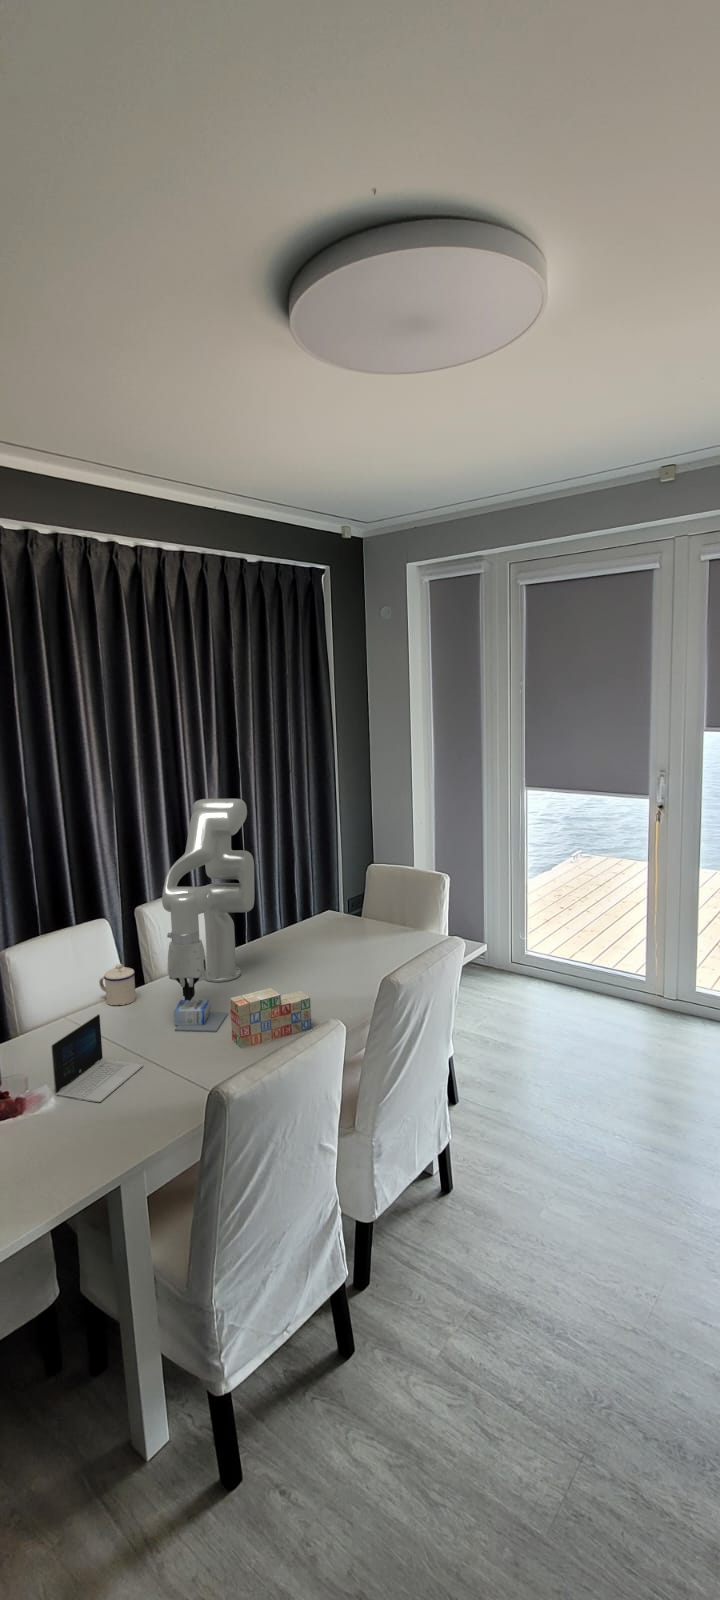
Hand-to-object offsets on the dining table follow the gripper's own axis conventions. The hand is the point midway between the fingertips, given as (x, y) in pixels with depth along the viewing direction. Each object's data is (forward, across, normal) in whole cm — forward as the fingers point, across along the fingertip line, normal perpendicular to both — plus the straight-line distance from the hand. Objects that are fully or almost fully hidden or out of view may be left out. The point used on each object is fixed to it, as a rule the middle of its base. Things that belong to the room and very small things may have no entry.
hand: (189, 998), depth 213 cm
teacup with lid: (+7, -28, +14) cm, 32 cm away
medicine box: (+4, -4, 0) cm, 6 cm away
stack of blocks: (+8, +25, -6) cm, 27 cm away
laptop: (+8, -11, -34) cm, 36 cm away
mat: (+7, +4, 0) cm, 8 cm away
